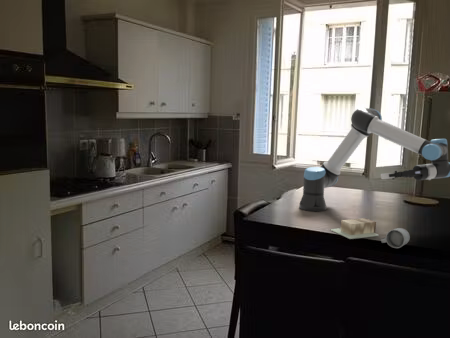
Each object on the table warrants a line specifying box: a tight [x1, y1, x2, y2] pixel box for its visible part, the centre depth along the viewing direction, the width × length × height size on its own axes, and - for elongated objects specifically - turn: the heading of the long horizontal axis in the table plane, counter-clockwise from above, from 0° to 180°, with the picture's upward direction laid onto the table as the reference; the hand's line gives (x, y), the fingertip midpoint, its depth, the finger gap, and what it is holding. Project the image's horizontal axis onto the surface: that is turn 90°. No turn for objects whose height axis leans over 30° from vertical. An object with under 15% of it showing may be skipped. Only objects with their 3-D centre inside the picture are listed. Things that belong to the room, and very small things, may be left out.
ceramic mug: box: [380, 227, 411, 249], centre depth 169 cm, size 11×8×8 cm
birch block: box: [340, 217, 377, 235], centre depth 185 cm, size 5×7×14 cm
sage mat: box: [330, 227, 380, 240], centre depth 185 cm, size 16×14×1 cm
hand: (381, 176), depth 192 cm, fingers closed
